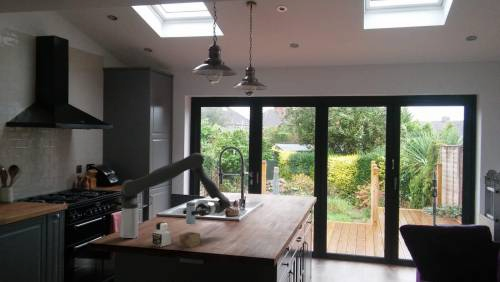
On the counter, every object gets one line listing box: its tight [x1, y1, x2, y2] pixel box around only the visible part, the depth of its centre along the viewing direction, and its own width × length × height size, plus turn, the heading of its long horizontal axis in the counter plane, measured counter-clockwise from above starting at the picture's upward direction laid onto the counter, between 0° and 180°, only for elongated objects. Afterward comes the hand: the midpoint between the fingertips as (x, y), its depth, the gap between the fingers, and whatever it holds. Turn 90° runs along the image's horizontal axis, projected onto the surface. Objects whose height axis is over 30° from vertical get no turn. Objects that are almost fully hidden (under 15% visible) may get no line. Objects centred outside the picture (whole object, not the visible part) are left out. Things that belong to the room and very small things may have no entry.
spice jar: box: [185, 201, 197, 225], centre depth 230 cm, size 5×5×11 cm
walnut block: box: [179, 231, 201, 248], centre depth 230 cm, size 8×8×6 cm
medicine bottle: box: [151, 221, 172, 248], centre depth 229 cm, size 7×7×12 cm
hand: (187, 212), depth 228 cm, fingers closed on spice jar, 5 cm apart
